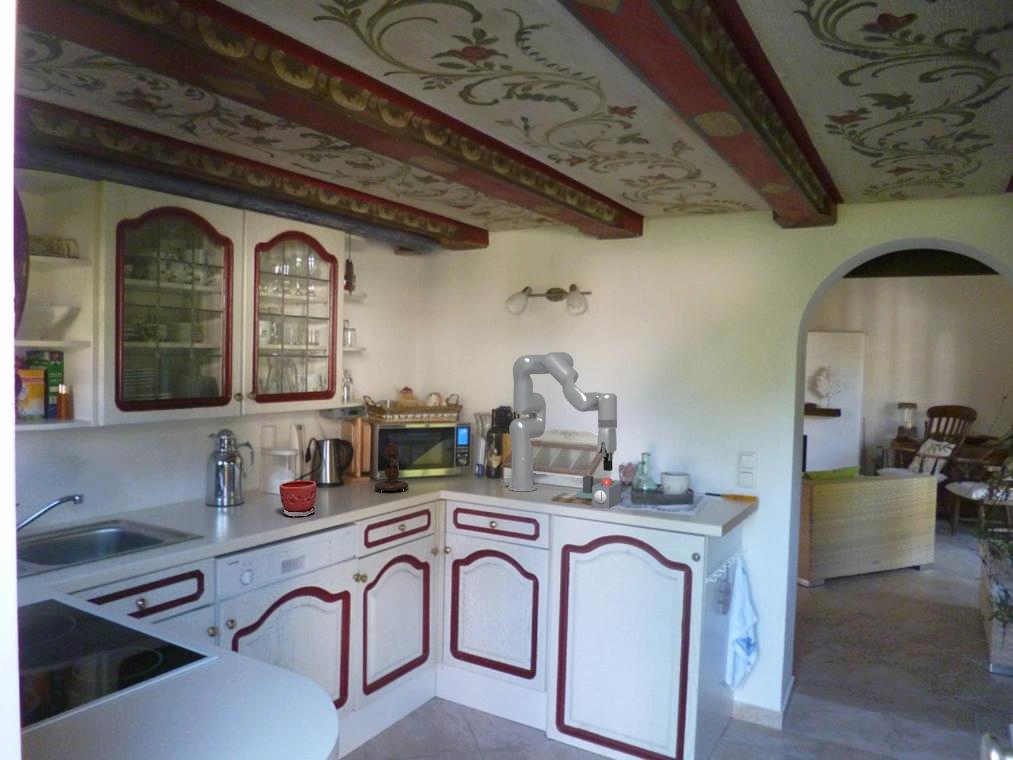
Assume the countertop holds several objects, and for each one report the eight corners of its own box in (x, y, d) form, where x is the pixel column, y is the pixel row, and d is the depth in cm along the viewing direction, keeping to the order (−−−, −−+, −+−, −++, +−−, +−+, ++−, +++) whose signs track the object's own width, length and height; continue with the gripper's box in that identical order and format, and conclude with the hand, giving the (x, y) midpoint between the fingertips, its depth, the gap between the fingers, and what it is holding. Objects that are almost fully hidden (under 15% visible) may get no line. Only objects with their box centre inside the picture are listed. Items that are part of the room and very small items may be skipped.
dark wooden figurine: (410, 493, 310) (409, 446, 309) (375, 494, 307) (375, 447, 306) (406, 486, 325) (406, 442, 324) (373, 488, 321) (373, 443, 320)
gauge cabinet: (591, 506, 282) (591, 486, 282) (604, 500, 295) (604, 480, 295) (608, 508, 279) (608, 488, 279) (621, 501, 292) (621, 482, 292)
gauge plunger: (601, 491, 286) (601, 479, 286) (604, 490, 290) (604, 477, 289) (609, 492, 285) (609, 480, 285) (612, 491, 288) (612, 478, 288)
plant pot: (286, 511, 275) (286, 479, 274) (320, 511, 274) (320, 480, 274) (274, 519, 262) (274, 486, 261) (310, 519, 261) (310, 486, 261)
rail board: (551, 500, 294) (551, 495, 294) (560, 496, 302) (560, 491, 302) (594, 505, 285) (594, 499, 285) (602, 501, 293) (602, 495, 293)
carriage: (575, 497, 289) (576, 477, 289) (583, 493, 296) (584, 474, 296) (592, 498, 286) (592, 478, 285) (599, 495, 293) (600, 475, 293)
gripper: (605, 422, 294) (605, 467, 295) (591, 425, 281) (592, 472, 282) (622, 423, 291) (623, 468, 291) (609, 426, 278) (610, 473, 278)
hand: (608, 470), depth 287 cm, fingers closed
